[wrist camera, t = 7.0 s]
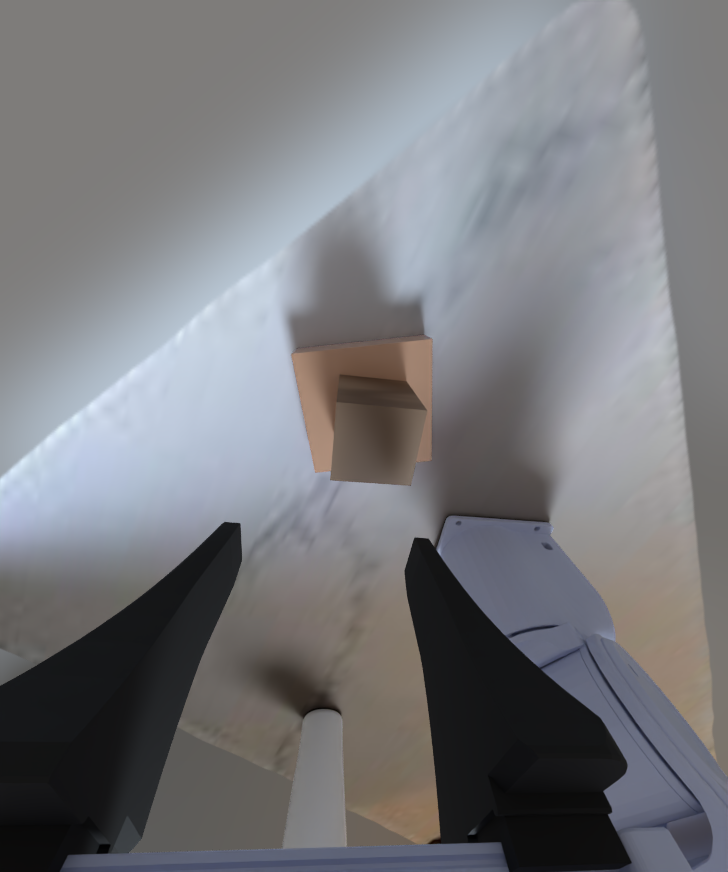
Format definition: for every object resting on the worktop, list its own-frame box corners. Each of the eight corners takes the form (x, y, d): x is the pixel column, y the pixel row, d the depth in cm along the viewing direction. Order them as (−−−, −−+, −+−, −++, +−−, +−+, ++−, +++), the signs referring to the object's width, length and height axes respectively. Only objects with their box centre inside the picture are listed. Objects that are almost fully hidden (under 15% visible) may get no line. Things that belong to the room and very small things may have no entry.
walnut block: (406, 381, 17) (427, 410, 13) (395, 441, 19) (410, 485, 14) (339, 374, 17) (336, 401, 12) (334, 436, 18) (330, 480, 14)
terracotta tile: (422, 333, 18) (432, 338, 16) (423, 443, 22) (431, 460, 20) (298, 346, 18) (291, 354, 16) (319, 454, 22) (315, 472, 20)
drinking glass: (299, 728, 40) (273, 946, 27) (296, 704, 37) (265, 936, 24) (347, 726, 41) (346, 940, 27) (348, 702, 38) (347, 929, 24)
